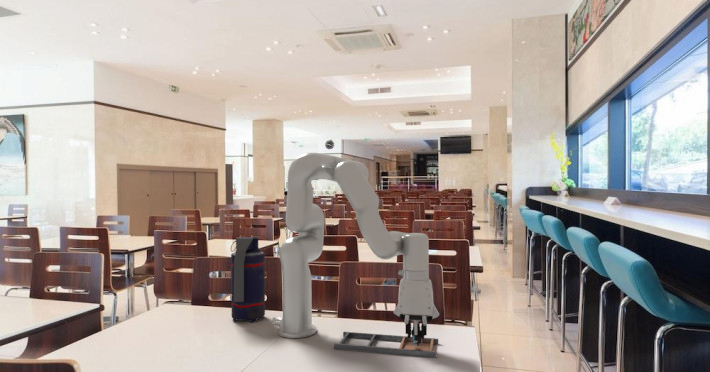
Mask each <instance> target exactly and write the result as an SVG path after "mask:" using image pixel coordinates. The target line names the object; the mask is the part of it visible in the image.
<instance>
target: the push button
mask: <svg viewBox="0 0 710 372" xmlns="http://www.w3.org/2000/svg"><path fill="white" fill-rule="evenodd" d="M409 319H410V321H411V322H413V324H412V326H413V327H412V329H411V337H412V338H413V345H414V346H419V343H420V341H421V343H422V338H421V326H420V325H421V324H420V322H423V320H422V316H419V315H409ZM412 338H411V343H412Z"/></svg>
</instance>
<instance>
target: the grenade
mask: <svg viewBox="0 0 710 372" xmlns="http://www.w3.org/2000/svg"><path fill="white" fill-rule="evenodd" d="M234 244H235V247H234V249H233V245H234ZM232 249H233V250H232ZM230 251H231V255H230V263H231V265H230V266H231V268H230V273H231V274H230V278H231V280H230V281H231V283H230V284H231V287H230V288H231V290H230V292H231V297H230V299H231V300H230V301H231V318H232V321H234V322H237V321H249V323H251V324H253V323H256V322H257V320H260V319H261V318H263V317H265V315H266V286H265V285H266V283H265V282H266V280H265V279H266V277H265V276H266V273H265V269H266V268H265V261H266V260H265V259H266V258H265V255H266V254H265V251H261V249H260V248H259V237H257V236H254V237H252V236H239V237H236V238H235V240H234V241H232V243H231V245H230ZM234 251H235V252H234Z"/></svg>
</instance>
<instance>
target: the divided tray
mask: <svg viewBox="0 0 710 372" xmlns="http://www.w3.org/2000/svg"><path fill="white" fill-rule="evenodd" d="M342 333H343V334H342V339H341V340H340V341H339V343H336V342H335V343H333V350H343V351H353V352H354V351H355V352H365V353H375V354H376V353H377V354H389V355H400V356H411V357H412V356H413V357H423V358H434V359H435V358H437V351H434V350H433V349H434V345H439V338H432V337H424V339H422V343H421V341H420V343H419V346H414V345H413V338H412V336H411V337H410V338H408V335H405V336H404V335H396V334H395V335H394V334H393V335H392V334H381V333H379V334H378V333H368V332H367V333H366V332H365V333H364V332H356V331H355V332H353V331H352V332H351V331H343V332H342ZM349 338H352V339H354V338H355V339H364V340H365V339H366V340H367V339H368V340H369V342H368V343H367V344H366V345H361V344H351V343H350V344H346V342H348V340H349ZM411 338H412V343H411ZM376 340H379V341H391V342H400V345H399V347H398V348H397V347H387V346H386V347H383V346H374V343H375V342H376Z"/></svg>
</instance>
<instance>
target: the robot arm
mask: <svg viewBox="0 0 710 372" xmlns="http://www.w3.org/2000/svg"><path fill="white" fill-rule="evenodd" d="M288 167H289V168H288V171H287V194H286V209H285V225H286V227H287V229H288V230H289V231H290V232H292V233H296V234H297V233H298V235H296V236H292V237H290V238H287V239H286V240H285V241H283V243H282V244H281V246H280V249H279V260H280V265H281V272H282V273H281V275H282V277H281V278H282V317H272V319H271V323H272V326H279V328H278V331H277V334H278V335H279V336H281V337H283V338H288V339H302V338H306V337H311V336H313V335H314V334H316V333H317V328H318V327H317V326H316V325H315V324H313V323H312V322H313V319H312V318H313V316H312V315H313V314H312V313H313V312H312V311H313V310H312V308H313V307H312V302H313V300H312V273H311V269H310V266H309V263H311V262H314V261H315V260H317V259H319V258H320V256H321V255H322V252H323V248H324V237H325V225H326V224H325V221H326V219H325V214H324V211H323V210H322V207H320V205H318V204H316V203H313V202H314V199H313V197H314V188H313V185H312V181H314V180H326V181H331V182H336V183H337V185H338V186H339V188H340V190H341V191H342V193H343V194H344V196H345V197H346V199H347V200H348V202H349V205H350V206H351V207H352V209H353V211H354V213H355V217H356V221H357V224H358V227H359V231H360V234H361V235H362V237H363V239H364V241H365V243H366V244H367V245H368V247H369V249H370V250H371V252H372V253H373V254H374V255H375V256H376V257H377V258H378V259H381V260H390V259H392V258H394V257H397V256H401V255H402V269H400V270H398V272H397V274H398V276H401V277H402V278H401V279H400V281H399V285H398V287H399V288H398V299H397V300H398V302H397V304H396V306H395V308H394V310H393V314H394V315H396V316H397V317H399V318H400V319H401V320H402V321H403V322H404V325H405V334H406V335H407V336H408V338H410V337H412V334H411V330H412V320H411V319H409V315H419V316H422V321H421V324H420V325H421V326H420V330H421V338H422V339H424V338H425V336H428V335H427V334H428V332H427V331H428V330H427V329H428V327H427V326H428V324H429V323H430V322H431V321H432V320H434V319H436V318H438V317H439V316H440V312H439V311H438V309H437V308H436V305H435V304H434V303H435V301H434V291H433V283H432V280H431V279H430V273H429V271H430V269H429V268H430V266H429V264H430V262H429V261H430V260H429V259H430V258H429V257H430V253H429V251H430V250H429V249H430V247H429V242H430V241H429V236H428V235H427V233H426V234H425V233H424V232H423V233H422V232H409V233H408V232H403V231H402V232H401V231H398V230H397V231H396V230H390V231H389V230H388V229H387V227H386V226H385V224H384V222H383V220H382V218H381V215H380V211H379V205H380V199H379V196H378V195H377V193H376V191H375V190H374V188H373V187H372V185H371V183H370V182H369V177H370V172H369V169H368V167H367V166H366V164H365V163H363V162H361V161H356V160H351V159H347V158H343V157H339V156H335V155H331V154H325V153H321V152H320V153H319V152H305V153H303V154H300V155H299V156H297V157H296V158H295V159H293V161H292V162H291V164H290V165H289V166H288Z"/></svg>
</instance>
